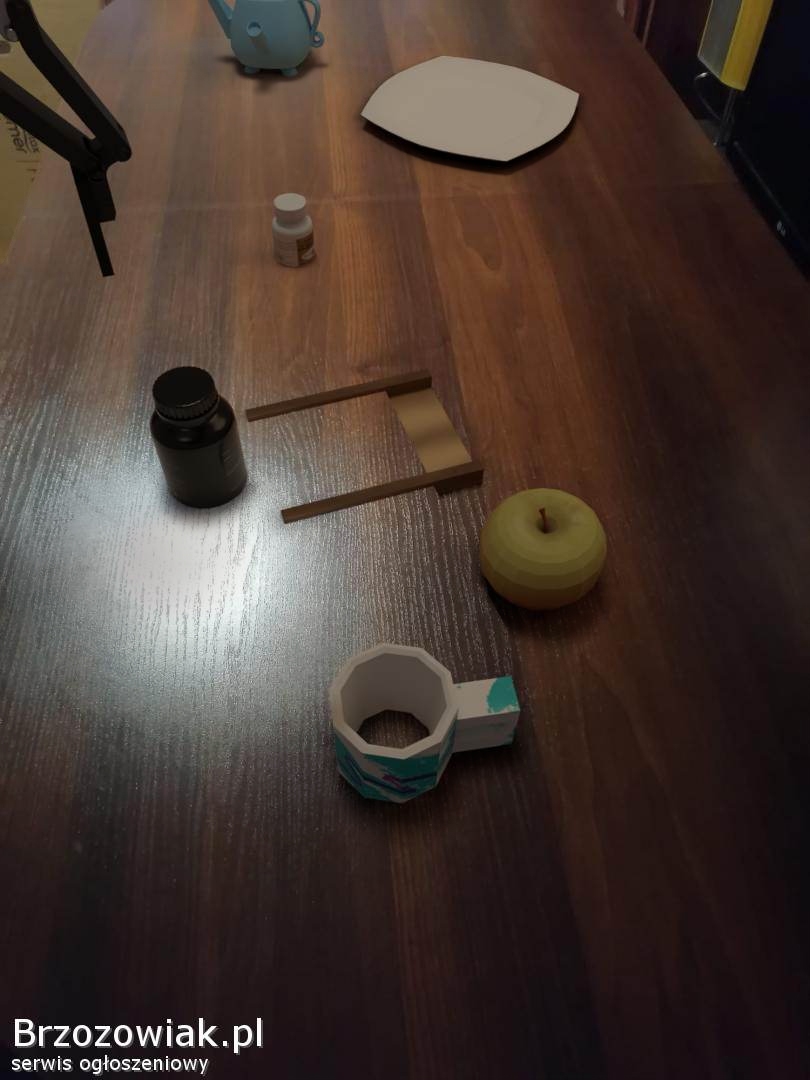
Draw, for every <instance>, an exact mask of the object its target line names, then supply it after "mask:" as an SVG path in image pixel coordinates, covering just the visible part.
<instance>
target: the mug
mask: <svg viewBox="0 0 810 1080" xmlns="http://www.w3.org/2000/svg"><path fill="white" fill-rule="evenodd" d="M515 689H516V688H515V685H514V681H513V678H512V676H511V675H510V676H509V675H508V676H501V677H495V678H488V679H480V680H473V681H466V682H459V683H454V681H453V676H452V673H451V671H450V670H449V669H447V667H446V666H444V665H443V664H442V663H440V661H438V660H437V659H436V658H434V657H433V656H432V655H431V654H430V653H429V652H427V651H426V650H425V649H424V648H423V647H418V646H411V645H404V644H397V643H389V642H382V643H379V644H377V645H375V646H372V647H370V648H368V649H366V650H363V651H361V652H358V653H356V654H354V655H352V656H349V657H348V658H347V659H346V661H345V663H344V664H343V665H342V668H341V669H340V671H338V674H337V675H336V676H335V679H334V680H333V681H332V684H331V685H330V686H329V688H328V694H329V704H330V712H331V723H332V731H333V740H334V741H333V742H334V749H335V756H336V757H335V758H336V764H337V765H336V766H337V772H338V773H339V774H340V775H341V776H342V777H343V778H344V779H345V780H346V781H347V782H348V783H349V784H350V785H351V786H352V787H353V788H354V789H355V790H356V791H357V792H358V793H359V794H361V796H362V797H363V798H366V799H372V800H378V801H386V802H391V803H398V804H403V803H405V802H408V801H409V800H412V799H413V798H417V797H418V796H420V795H421V794H424V793H426V792H428V791H429V790H432V789H434V788H436V787H437V785H438V783H439V782H440V779H441V777H442V775H443V773H444V772H445V770H446V767H447V765H448V763H449V761H450V760H451V757H452V755H453V753H460V752H467V751H473V750H479V749H487V748H493V747H500V746H506V745H512V744H513V741H514V740H513V739H514V737H515V733H516V729H517V725H518V721H519V717H520V714H521V708H520V704H519V700H518V697H517V693H516V690H515ZM386 710H390V711H396V712H401V713H402V712H403V713H408V714H409V713H410V714H411V715H412V716H413V717H414V718H416V719H417V720H418V721H419V722H420V723H421V724H423V726H424V727H426V728H427V729H428V733H429V736H427V737H424V738H422V739H420V740H418V741H416V742H413V743H412V744H411V745H408V746H406V747H403V748H397V747H391V746H383V745H377V744H370V743H367V741H365V740H364V739H363V738H362V737H361V736H360V735H359V734H358V731H359V730H360V728H361V726H362V724H363V723H364V722H365V721H364V720H366V719H369V718H370V717H373V716H375V715H377V714H379V713H382V712H383V711H386Z"/></svg>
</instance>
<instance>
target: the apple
mask: <svg viewBox="0 0 810 1080" xmlns="http://www.w3.org/2000/svg"><path fill="white" fill-rule="evenodd" d="M607 550H608V549H607V533H606V532H605V530H604V527H603V525H602V523H601V522H600V520H599V518H598V516H597V514H596V512H595V511H594V510H593V509H592V508H591V506H588V505H587V504H586V503H585V502H584V501H583V500H582V499H581V498H579V497H578V496H575V495H573V494H571V493H568V492H567V491H566V492H565V491H563V490H561V489H555V488H554V489H553V488H547V487H540V488H539V487H538V488H532V489H526V490H522V491H519V492H517V493H515V494H513V495H511V496H509V497H507V498H504V499H503V501H502V502H500V503H499V504H498V505H497V506H496V507H495V509H493V510H492V512H491V513H490V514H489V515H488V516H487V517H486V518H485V521H484V524H483V526H482V530H481V533H480V536H479V541H478V557H479V564H480V571H481V573H482V574H483V575H484V577H485V579H486V580H487V581H488V583H489V585H490V586H491V587H492V589H493V590H494V591H495V592H496V594H498V595H499V596H500V597H502V598H503V599H504V600H506V601H508V602H509V603H510V604H512V605H515V606H518V607H521V608H524V609H528V610H531V611H555V610H556V609H560V608H563V607H565V606H569V605H571V604H573V603H575V602H577V601H579V600H580V599H581V598H582V597H583V596H585V595H586V594H587V593H589V592H590V591H592V589H593V588H594V587H595V585H596V583H597V581H598V579H599V577H600V575H601V572H602V570H603V568H604V566H605V564H606V559H607V554H608V551H607Z"/></svg>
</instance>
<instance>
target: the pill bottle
mask: <svg viewBox="0 0 810 1080" xmlns="http://www.w3.org/2000/svg"><path fill="white" fill-rule="evenodd" d="M273 212H274V216H275V217H274V218H273V220H272V221H271V232H272V240H273V249H274V258H275V260H276V261H277V262H278V263H279V264H281V265H283V266H285V267H286V266H287V267H292V268H293V267H294V268H295V267H296V268H297V267H301V266H302V267H303V266H306V265H308V264H309V263H311V262H312V261H313V260H314V258H315V254H316V252H315V251H316V250H315V239H314V238H315V237H314V225H313V220H312V218H311V217H310V216H309V215H308V206H307V199H306V198H305V197H304V196H303V195H301V194H299V193H296V192H288V193H283V194H282V193H281V194H279V195H278V196H277V197H276V196H275V199H273Z"/></svg>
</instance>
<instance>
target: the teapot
mask: <svg viewBox="0 0 810 1080" xmlns="http://www.w3.org/2000/svg"><path fill="white" fill-rule="evenodd" d="M207 2H208V4H209V5H210V7H211V10H212V12H213V13H214V16H215V17H216V19H217V21H218V23H219V25H220V27H221V29H222V31H223V33H224V34H225V36H226V38H227V40H230V47H231V50H232V52H233V54H234V56H235V57H236V58H237V60H238V61H239V62H240V64H242V65H243V66H245V67H244V72H245V73H247V74H258V73H259V72H260V71H261V69H266V70H267V69H269V70H271V69H272V70H280V71H281V74H282V75H283V76H285V77H292V76H296V75H297V74H298V71H297V69H296V67H298V66H299V65H300V64H302V63H303V62H304V60H306V58H307V56H308V55H309V53H310V51H311V49H312V48H315V49H317V48H321V47H323V45H324V44H325V36H324V34H323V33H322V31H319V30H318V27H319V23H320V19H321V15H322V14H321V13H322V9H321V3H320V1H319V0H235V1H234V5H233V9H232V8H231V7H230V6H229V4H228V3H227V2H226V1H225V0H207ZM305 2H306V3H307V2H308V3H310V4H312V6H313V8H314V17H313V20H312V21H311V18H310V14H309V11H308V8H307V6H306V3H305ZM316 37H317V38H318V40H316Z"/></svg>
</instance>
